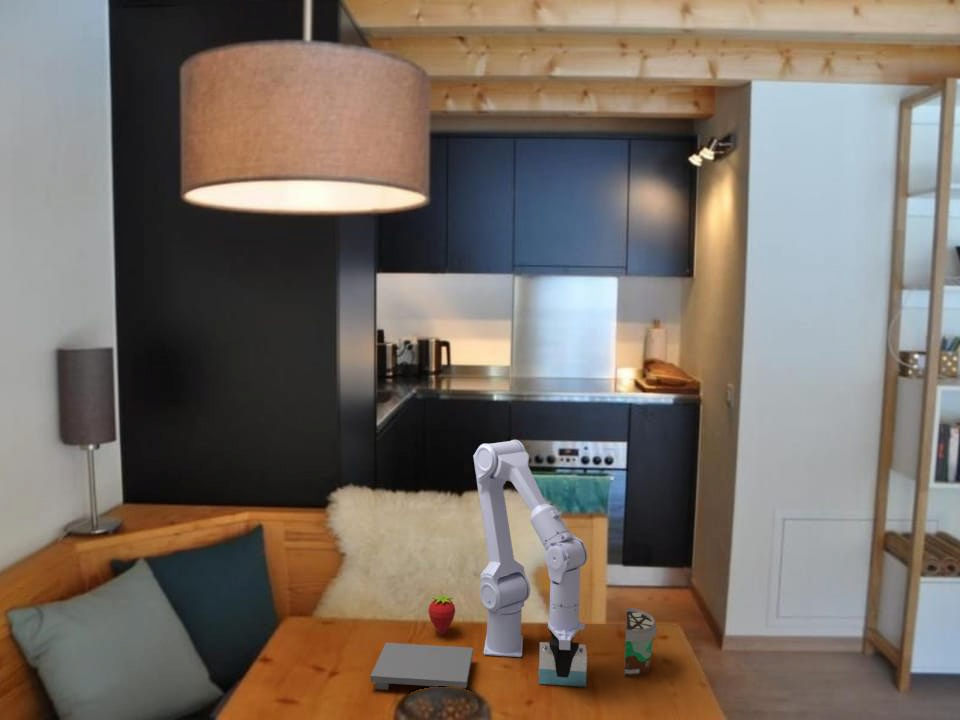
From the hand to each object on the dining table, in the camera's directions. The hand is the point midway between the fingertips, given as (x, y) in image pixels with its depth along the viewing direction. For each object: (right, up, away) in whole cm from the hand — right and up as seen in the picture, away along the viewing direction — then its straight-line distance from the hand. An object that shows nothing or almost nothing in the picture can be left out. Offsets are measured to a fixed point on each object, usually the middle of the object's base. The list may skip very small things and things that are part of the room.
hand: (562, 669), depth 145 cm
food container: (+16, -2, +6) cm, 18 cm away
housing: (0, -2, 0) cm, 2 cm away
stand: (-27, -1, 0) cm, 27 cm away
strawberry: (-25, 0, +19) cm, 31 cm away
